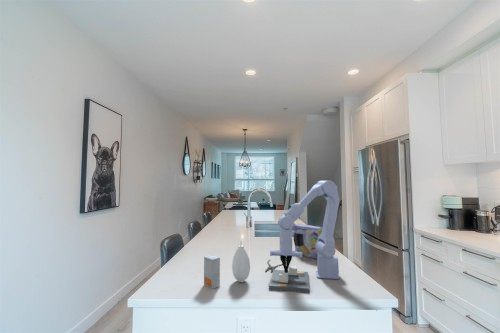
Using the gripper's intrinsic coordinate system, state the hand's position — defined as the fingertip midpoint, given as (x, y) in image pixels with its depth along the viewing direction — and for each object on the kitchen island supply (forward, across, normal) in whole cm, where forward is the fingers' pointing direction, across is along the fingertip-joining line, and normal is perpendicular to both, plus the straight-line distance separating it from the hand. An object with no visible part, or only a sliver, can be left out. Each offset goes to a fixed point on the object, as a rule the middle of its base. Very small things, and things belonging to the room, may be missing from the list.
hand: (286, 272), depth 117 cm
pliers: (+3, -6, +15) cm, 16 cm away
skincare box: (+2, -30, -15) cm, 34 cm away
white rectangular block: (+1, -1, -9) cm, 9 cm away
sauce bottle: (+2, -19, -8) cm, 21 cm away
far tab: (+1, +3, 0) cm, 3 cm away
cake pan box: (+3, +11, +37) cm, 39 cm away
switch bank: (+2, +2, -4) cm, 5 cm away
